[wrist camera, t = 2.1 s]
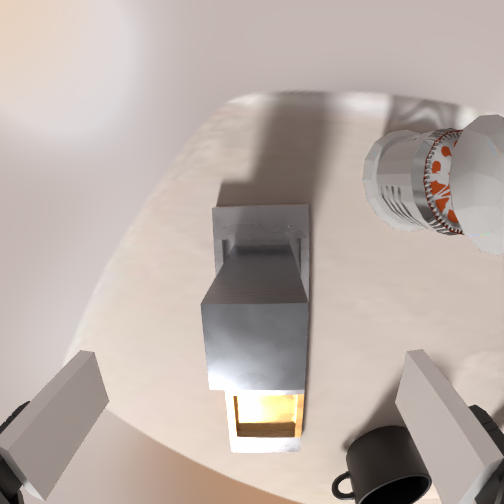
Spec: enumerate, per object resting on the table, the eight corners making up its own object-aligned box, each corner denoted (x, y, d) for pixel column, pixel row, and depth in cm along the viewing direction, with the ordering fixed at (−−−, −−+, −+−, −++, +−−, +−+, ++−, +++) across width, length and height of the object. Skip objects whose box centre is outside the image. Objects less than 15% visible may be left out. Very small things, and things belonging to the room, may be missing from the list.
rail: (306, 203, 28) (309, 205, 26) (298, 440, 34) (299, 451, 32) (216, 206, 28) (212, 208, 26) (233, 440, 34) (232, 451, 32)
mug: (320, 445, 34) (328, 499, 25) (409, 414, 32) (434, 463, 23) (333, 481, 35) (341, 528, 27) (412, 454, 34) (430, 498, 25)
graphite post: (290, 244, 28) (308, 302, 14) (290, 297, 29) (304, 389, 15) (233, 245, 28) (200, 304, 15) (236, 298, 29) (210, 389, 16)
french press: (380, 112, 25) (604, -2, 1) (473, 163, 26) (685, 177, 1) (348, 209, 28) (596, 326, 3) (445, 252, 28) (646, 368, 3)
